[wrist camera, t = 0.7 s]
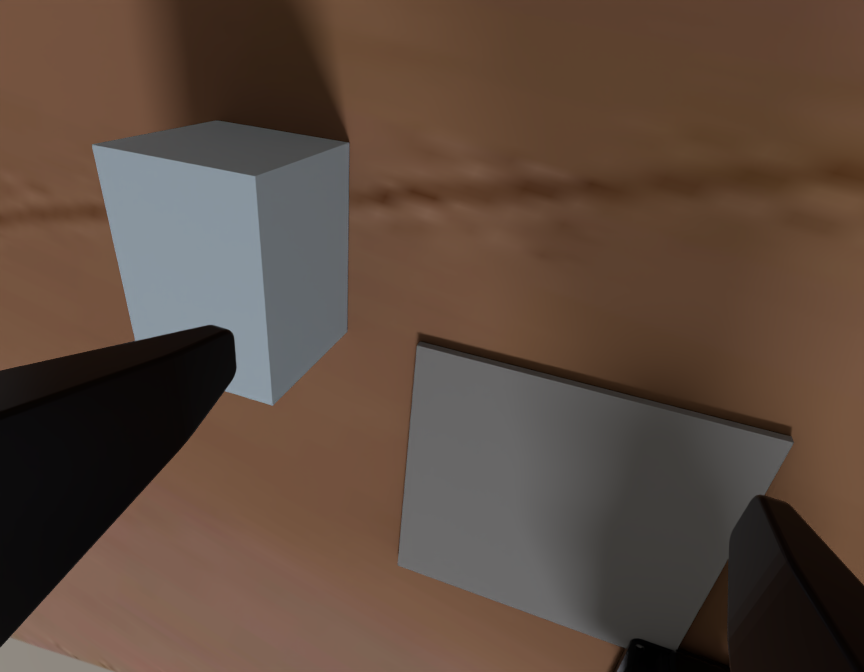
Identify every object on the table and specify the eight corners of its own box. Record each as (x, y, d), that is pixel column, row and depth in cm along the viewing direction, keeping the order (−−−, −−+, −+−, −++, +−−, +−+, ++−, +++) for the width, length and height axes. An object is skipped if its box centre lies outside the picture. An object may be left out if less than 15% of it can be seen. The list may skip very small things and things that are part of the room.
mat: (668, 657, 30) (668, 664, 30) (400, 560, 34) (397, 565, 33) (791, 436, 22) (793, 442, 22) (419, 341, 26) (417, 345, 25)
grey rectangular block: (347, 331, 27) (272, 405, 21) (236, 302, 28) (140, 365, 23) (349, 142, 22) (254, 176, 17) (217, 120, 24) (91, 144, 18)
